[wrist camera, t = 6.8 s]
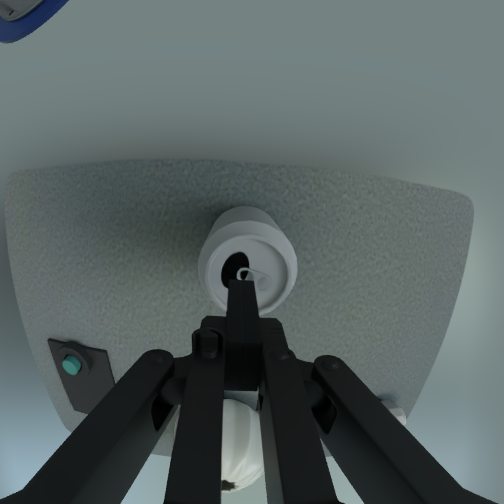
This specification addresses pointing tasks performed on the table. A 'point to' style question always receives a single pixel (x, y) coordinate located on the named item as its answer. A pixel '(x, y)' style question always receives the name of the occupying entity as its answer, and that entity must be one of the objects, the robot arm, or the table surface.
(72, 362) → the button
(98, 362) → the scale
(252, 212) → the can
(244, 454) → the vase
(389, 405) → the apple
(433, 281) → the table surface
